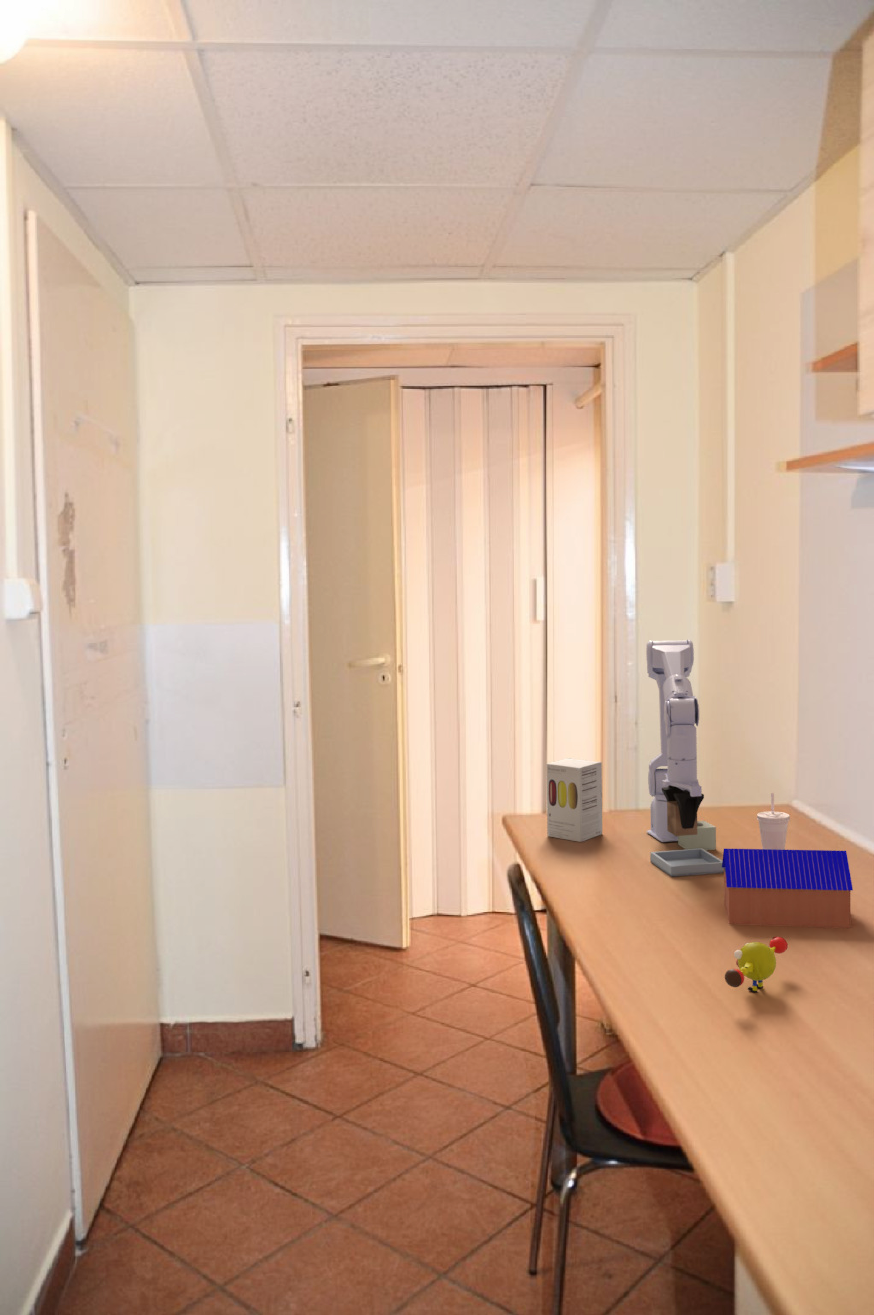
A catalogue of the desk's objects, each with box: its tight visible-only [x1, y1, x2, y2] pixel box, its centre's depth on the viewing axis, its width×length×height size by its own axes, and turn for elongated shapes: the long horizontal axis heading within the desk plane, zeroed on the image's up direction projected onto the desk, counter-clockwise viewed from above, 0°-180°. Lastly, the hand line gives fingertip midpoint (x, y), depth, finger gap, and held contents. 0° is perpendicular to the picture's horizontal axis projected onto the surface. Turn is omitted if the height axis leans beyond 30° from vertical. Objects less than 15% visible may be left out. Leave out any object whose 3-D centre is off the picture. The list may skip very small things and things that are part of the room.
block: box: [667, 801, 698, 836], centre depth 213 cm, size 4×4×6 cm
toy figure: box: [724, 936, 789, 993], centre depth 151 cm, size 18×6×7 cm, turn 141°
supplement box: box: [546, 757, 603, 843], centre depth 241 cm, size 10×9×17 cm
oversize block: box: [677, 820, 717, 851], centre depth 228 cm, size 6×6×5 cm
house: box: [722, 848, 854, 929], centre depth 182 cm, size 12×20×12 cm, turn 79°
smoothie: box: [756, 792, 791, 850], centre depth 215 cm, size 6×6×14 cm
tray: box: [649, 848, 724, 878], centre depth 213 cm, size 11×11×2 cm
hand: (682, 825), depth 213 cm, fingers closed on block, 4 cm apart
